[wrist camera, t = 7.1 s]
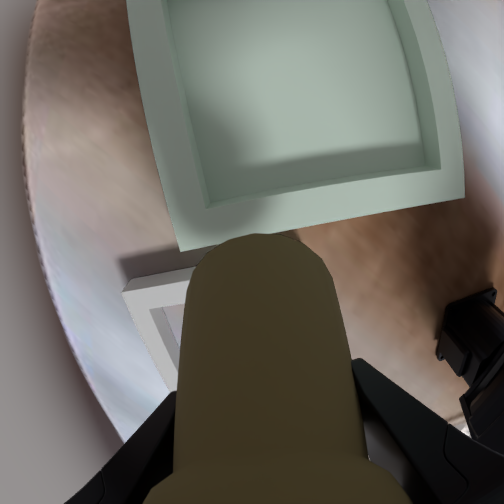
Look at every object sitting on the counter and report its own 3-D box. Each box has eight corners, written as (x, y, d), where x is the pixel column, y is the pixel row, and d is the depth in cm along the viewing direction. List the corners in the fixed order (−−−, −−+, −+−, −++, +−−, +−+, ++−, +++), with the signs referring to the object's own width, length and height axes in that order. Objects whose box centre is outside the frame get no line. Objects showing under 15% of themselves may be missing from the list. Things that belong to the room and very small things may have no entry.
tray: (389, -35, 11) (402, -49, 9) (444, 190, 17) (464, 197, 15) (136, -10, 12) (123, -25, 10) (189, 237, 18) (180, 251, 16)
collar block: (303, 245, 19) (309, 257, 17) (319, 376, 23) (324, 393, 21) (131, 278, 19) (121, 292, 18) (184, 395, 24) (181, 411, 22)
